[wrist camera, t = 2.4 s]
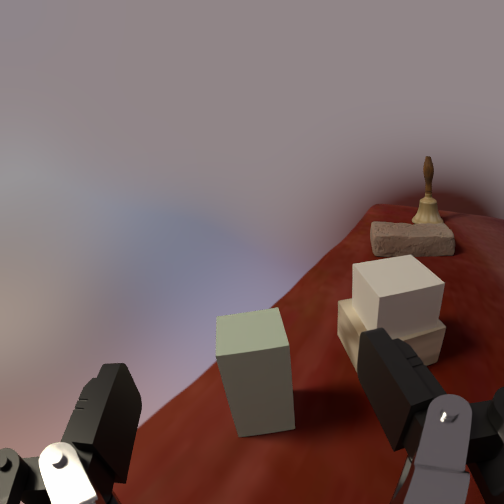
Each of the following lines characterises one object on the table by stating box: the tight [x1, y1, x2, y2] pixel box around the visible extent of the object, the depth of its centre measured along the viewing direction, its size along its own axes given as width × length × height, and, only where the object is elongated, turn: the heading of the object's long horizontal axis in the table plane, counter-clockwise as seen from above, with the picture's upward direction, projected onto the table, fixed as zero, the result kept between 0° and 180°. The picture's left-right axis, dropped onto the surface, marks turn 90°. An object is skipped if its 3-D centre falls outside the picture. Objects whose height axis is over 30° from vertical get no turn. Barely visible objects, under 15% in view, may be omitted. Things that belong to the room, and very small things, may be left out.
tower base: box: [338, 299, 446, 374], centre depth 31 cm, size 9×9×5 cm
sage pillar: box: [216, 308, 295, 437], centre depth 25 cm, size 5×5×10 cm
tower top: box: [352, 255, 445, 339], centre depth 29 cm, size 7×7×5 cm
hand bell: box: [412, 156, 444, 224], centre depth 65 cm, size 8×8×16 cm
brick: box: [370, 222, 455, 257], centre depth 54 cm, size 16×8×5 cm, turn 74°
